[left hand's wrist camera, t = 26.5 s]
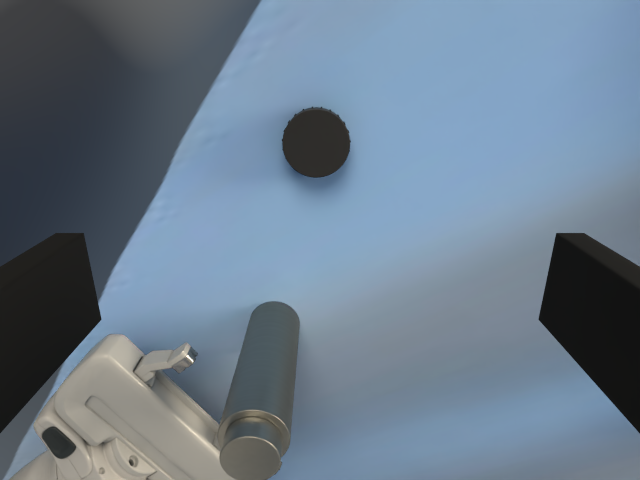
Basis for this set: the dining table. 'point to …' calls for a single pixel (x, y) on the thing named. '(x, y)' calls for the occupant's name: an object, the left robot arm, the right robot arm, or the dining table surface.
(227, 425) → the grey cylinder
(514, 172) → the dining table surface
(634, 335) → the left robot arm
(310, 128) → the lid
